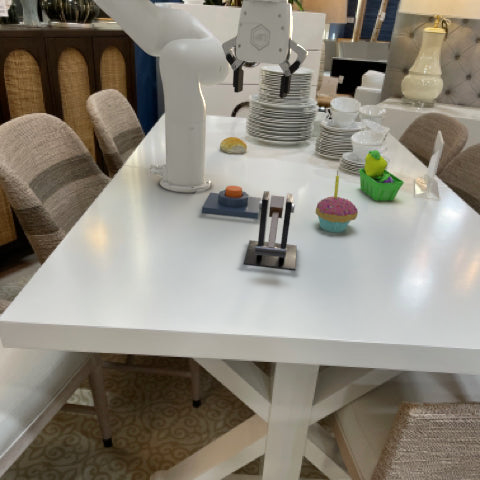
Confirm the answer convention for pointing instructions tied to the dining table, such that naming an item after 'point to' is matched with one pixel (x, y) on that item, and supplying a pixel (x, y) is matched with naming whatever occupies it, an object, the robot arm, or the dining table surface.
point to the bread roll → (233, 145)
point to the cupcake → (335, 211)
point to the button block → (232, 205)
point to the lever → (273, 230)
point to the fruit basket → (378, 178)
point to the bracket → (272, 261)
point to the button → (233, 191)
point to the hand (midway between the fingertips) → (260, 94)
